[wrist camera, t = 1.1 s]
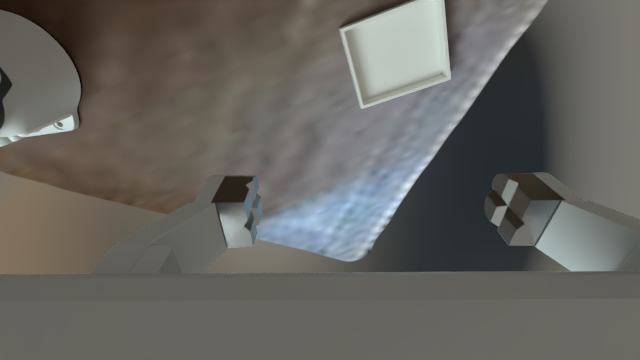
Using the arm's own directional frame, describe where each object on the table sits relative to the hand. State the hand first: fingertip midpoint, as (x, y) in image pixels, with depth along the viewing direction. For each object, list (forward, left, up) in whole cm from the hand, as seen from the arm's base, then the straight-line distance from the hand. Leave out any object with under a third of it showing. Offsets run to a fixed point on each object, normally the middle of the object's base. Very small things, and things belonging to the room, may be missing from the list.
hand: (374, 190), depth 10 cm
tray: (+9, -3, -35) cm, 36 cm away
